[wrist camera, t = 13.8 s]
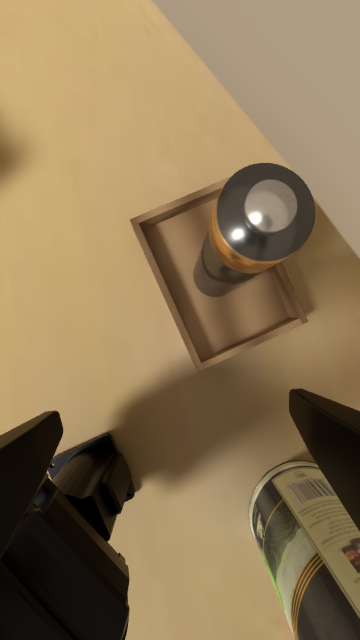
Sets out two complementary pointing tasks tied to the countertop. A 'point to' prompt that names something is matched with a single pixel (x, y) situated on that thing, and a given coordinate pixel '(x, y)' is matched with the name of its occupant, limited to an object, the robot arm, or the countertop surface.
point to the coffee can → (309, 551)
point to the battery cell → (253, 227)
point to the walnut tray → (205, 311)
